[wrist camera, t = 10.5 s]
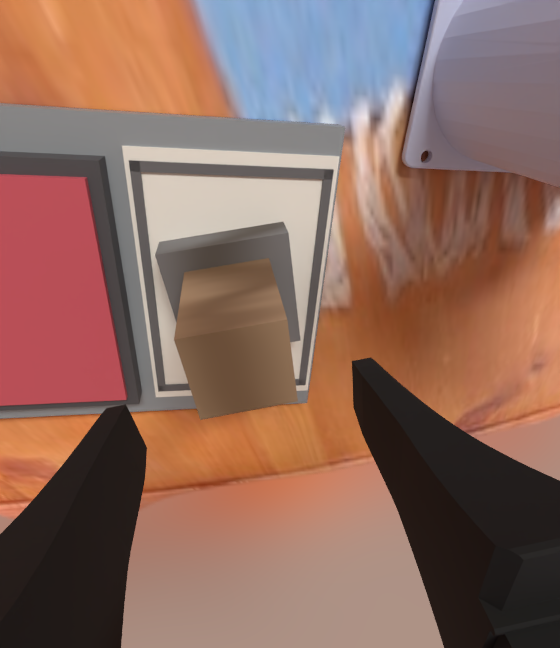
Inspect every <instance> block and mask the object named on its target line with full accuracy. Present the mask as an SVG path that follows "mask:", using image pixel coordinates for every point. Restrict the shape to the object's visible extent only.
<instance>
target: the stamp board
mask: <svg viewBox="0 0 560 648" xmlns="http://www.w3.org/2000/svg"><path fill="white" fill-rule="evenodd" d="M344 133H345V127H344V126H341V125H338V124H322V123H306V122H290V121H274V120H258V119H242V118H226V117H210V116H194V115H178V114H162V113H146V112H130V111H114V110H98V109H83V108H67V107H51V106H35V105H19V104H3V103H0V419H1V418H21V417H41V416H60V415H80V414H100V413H103V412H104V410H105V409H106V408H109V407H115V406H120V405H125V404H126V406H127V408H128V410H129V412H139V411H159V410H179V409H197V408H196V405H195V402H194V399H193V396H192V393H191V390H190V387H189V384H188V381H187V378H186V375H185V372H184V369H183V365H182V362H181V359H180V356H179V353H178V350H177V347H176V344H175V341H174V336H175V330H176V320H175V317H174V314H173V310H172V307H171V304H170V301H169V298H168V295H167V291H166V288H165V285H164V282H163V279H162V276H161V273H160V269H159V266H158V263H157V260H156V257H155V253H156V250H157V247H158V244H159V242H162V241H168V240H174V239H180V238H186V237H192V236H198V235H204V234H210V233H216V232H222V231H228V230H234V229H241V228H247V227H253V226H259V225H265V224H271V223H277V222H284V224H285V226H286V229H287V231H288V233H289V242H290V250H291V259H292V268H293V277H294V286H295V295H296V304H297V313H298V322H299V331H300V341H295V342H290V344H291V352H292V359H293V367H294V375H295V383H296V390H297V398H298V401H297V402H292V403H287V404H297V403H307V399H308V392H309V385H310V377H311V370H312V363H313V356H314V349H315V341H316V334H317V327H318V320H319V313H320V305H321V298H322V291H323V284H324V277H325V269H326V262H327V255H328V248H329V241H330V233H331V226H332V219H333V212H334V205H335V198H336V190H337V183H338V176H339V169H340V162H341V154H342V147H343V140H344Z"/></svg>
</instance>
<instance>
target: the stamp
mask: <svg viewBox="0 0 560 648" xmlns="http://www.w3.org/2000/svg"><path fill="white" fill-rule="evenodd" d="M155 257H156V260H157V263H158V266H159V269H160V273H161V276H162V279H163V282H164V285H165V288H166V291H167V295H168V298H169V301H170V304H171V307H172V310H173V314H174V317H175V320H176V330H175V336H174V341H175V344H176V347H177V350H178V353H179V356H180V359H181V362H182V365H183V369H184V372H185V375H186V378H187V381H188V384H189V387H190V390H191V393H192V396H193V399H194V402H195V405H196V408H197V411H198V414H199V417H200V420H202V419H208V418H213V417H218V416H223V415H229V414H234V413H239V412H244V411H250V410H255V409H260V408H266V407H271V406H276V405H281V404H287V403H292V402H297V401H298V398H297V390H296V383H295V375H294V367H293V359H292V352H291V344H290V342H295V341H300V331H299V322H298V313H297V304H296V295H295V286H294V277H293V268H292V259H291V250H290V242H289V233H288V231H287V229H286V226H285V224H284V222H277V223H271V224H265V225H259V226H253V227H247V228H241V229H234V230H228V231H222V232H216V233H210V234H204V235H198V236H192V237H186V238H180V239H174V240H168V241H162V242H159V244H158V247H157V250H156V253H155Z"/></svg>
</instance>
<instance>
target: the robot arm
mask: <svg viewBox="0 0 560 648" xmlns="http://www.w3.org/2000/svg"><path fill="white" fill-rule="evenodd" d="M424 151H428V157H427V159H426V160H424V161H421V155H422V153H423V152H424ZM402 161H403V163H404V164H405V165H406V166H408V167H411V168H422V169H444V170H466V171H487V172H509V173H516V174H519V175H522V176H525V177H528V178H531V179H534V180H537V181H540V182H543V183H547V184H550V185H553V186H556V187H559V188H560V0H435V3H434V8H433V13H432V17H431V22H430V27H429V31H428V36H427V41H426V45H425V50H424V55H423V59H422V64H421V69H420V73H419V78H418V83H417V87H416V92H415V96H414V101H413V106H412V110H411V115H410V120H409V124H408V129H407V134H406V138H405V143H404V148H403V152H402ZM352 372H353V402H354V410H355V413H356V416H357V419H358V422H359V425H360V428H361V431H362V434H363V436H364V438H365V441H366V443H367V445H368V447H369V449H370V451H371V454H372V456H373V458H374V460H375V462H376V464H377V466H378V468H379V470H380V473H381V475H382V477H383V479H384V481H385V483H386V485H387V487H388V489H389V491H390V494H391V496H392V498H393V500H394V503H395V505H396V507H397V510H398V512H399V515H400V518H401V521H402V523H403V526H404V529H405V532H406V534H407V537H408V540H409V543H410V546H411V548H412V551H413V554H414V557H415V560H416V563H417V566H418V568H419V571H420V574H421V577H422V580H423V583H424V586H425V589H426V592H427V595H428V598H429V601H430V604H431V607H432V611H433V614H434V616H435V620H436V623H437V626H438V629H439V632H440V636H441V639H442V642H443V645H444V648H560V481H559V480H557V479H554V478H552V477H550V476H548V475H545V474H543V473H541V472H539V471H537V470H535V469H532V468H530V467H528V466H526V465H524V464H522V463H520V462H518V461H516V460H514V459H512V458H510V457H508V456H506V455H504V454H503V453H500V452H499V451H497V450H495V449H493V448H491V447H489V446H487V445H486V444H484V443H482V442H480V441H479V440H477V439H475V438H474V437H472V436H470V435H469V434H467V433H466V432H464V431H462V430H461V429H459V428H458V427H456V426H455V425H453V424H452V423H450V422H449V421H447V420H446V419H445V418H443V417H442V416H440V415H439V414H438V413H436V412H435V411H434V410H432V409H431V408H430V407H428V406H427V405H426V404H424V403H423V402H422V401H421V400H419V399H418V398H417V397H416V396H414V395H413V394H412V393H411V392H409V391H408V390H407V389H406V388H405V387H403V386H402V385H401V384H400V383H399V382H398V381H397V380H395V379H394V378H393V377H392V376H391V375H390V374H389V373H388V372H386V371H385V370H384V369H383V368H382V367H381V366H380V365H379V364H378V363H377V362H376V361H375V360H373V359H372V358H366V359H361V360H356V361H352ZM146 452H147V447H146V445H145V443H144V441H143V439H142V437H141V435H140V433H139V431H138V428H137V426H136V424H135V422H134V420H133V418H132V416H131V414H130V412H129V410H128V408H127V406H126V404H125V405H120V406H115V407H109V408H106V409H105V410H104V412H103V413H102V414H101V415H100V417H99V418H98V419H97V421H96V422H95V423H94V425H93V426H92V427H91V429H90V430H89V431H88V433H87V434H86V435H85V437H84V438H83V439H82V441H81V442H80V443H79V445H78V446H77V447H76V449H75V450H74V451H73V452H72V454H71V455H70V456H69V458H68V459H67V460H66V461H65V463H64V464H63V465H62V467H61V468H60V469H59V470H58V471H57V472H56V474H55V475H54V476H53V477H52V478H51V480H50V481H49V482H48V483H47V484H46V486H45V487H44V488H43V489H42V490H41V491H40V493H39V494H38V495H37V496H36V497H35V498H34V500H33V501H32V502H31V503H30V504H29V505H28V506H27V507H26V508H25V509H24V510H23V512H22V513H21V514H20V515H19V516H18V517H17V518H16V519H15V520H14V521H13V522H12V523H11V524H10V525H9V526H8V527H7V528H6V529H5V530H4V531H3V532H2V533H1V534H0V648H121V638H122V625H123V613H124V601H125V591H126V581H127V571H128V564H129V557H130V551H131V546H132V541H133V536H134V531H135V526H136V521H137V516H138V511H139V507H140V501H141V496H142V491H143V486H144V480H145V469H146Z"/></svg>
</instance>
